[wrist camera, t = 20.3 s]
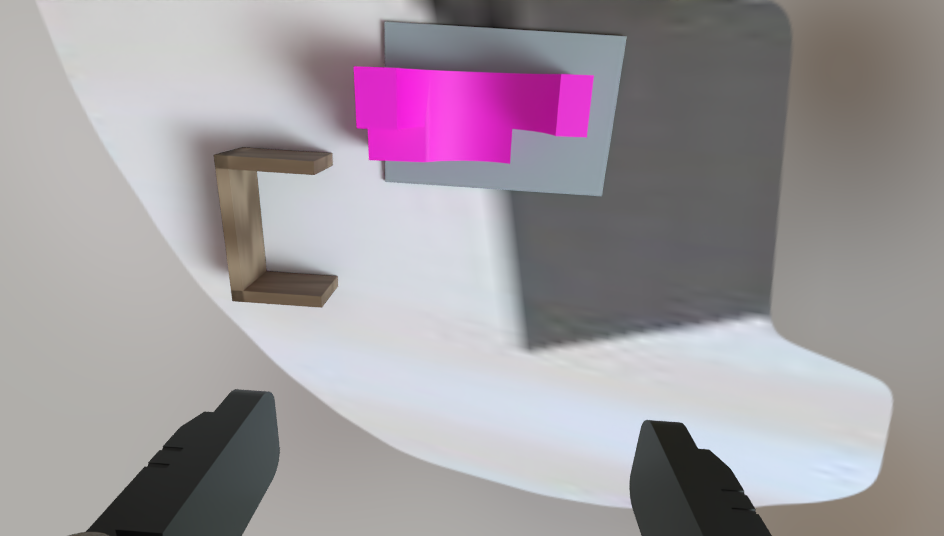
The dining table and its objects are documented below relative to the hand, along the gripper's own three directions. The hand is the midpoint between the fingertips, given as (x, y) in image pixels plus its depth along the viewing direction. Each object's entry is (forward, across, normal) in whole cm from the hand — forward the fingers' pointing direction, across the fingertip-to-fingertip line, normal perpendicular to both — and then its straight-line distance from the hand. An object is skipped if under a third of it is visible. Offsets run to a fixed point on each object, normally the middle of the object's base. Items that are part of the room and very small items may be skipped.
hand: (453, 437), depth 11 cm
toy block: (+32, +1, -5) cm, 32 cm away
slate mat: (+32, -1, -5) cm, 32 cm away
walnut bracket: (+32, +16, +5) cm, 36 cm away
